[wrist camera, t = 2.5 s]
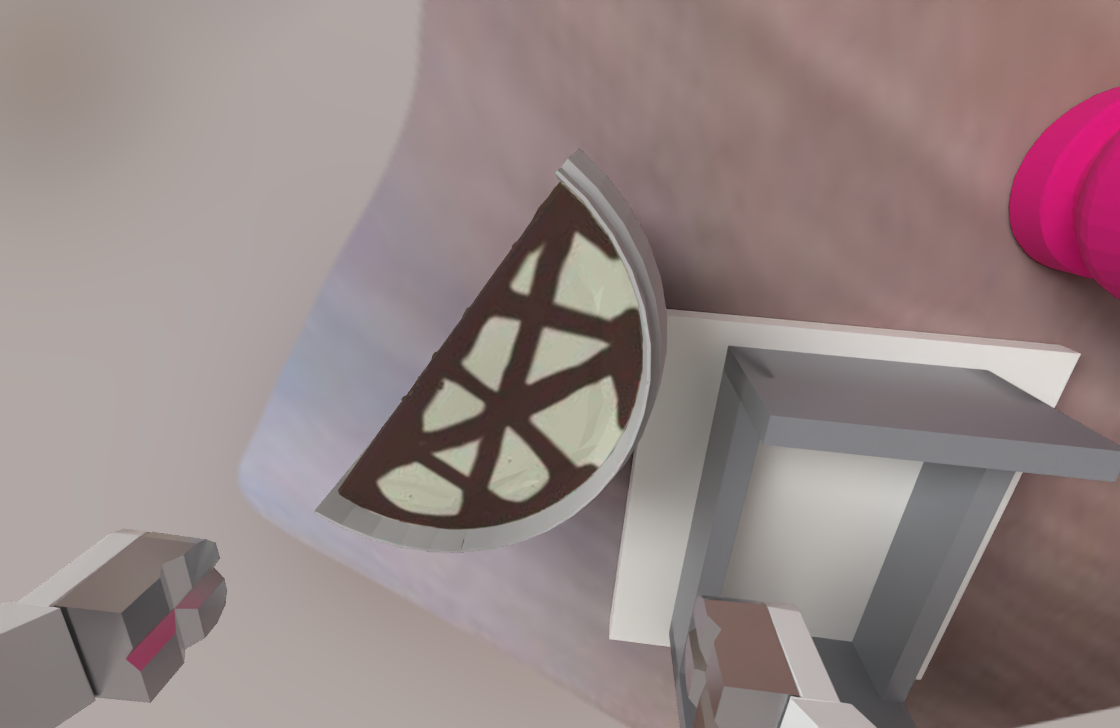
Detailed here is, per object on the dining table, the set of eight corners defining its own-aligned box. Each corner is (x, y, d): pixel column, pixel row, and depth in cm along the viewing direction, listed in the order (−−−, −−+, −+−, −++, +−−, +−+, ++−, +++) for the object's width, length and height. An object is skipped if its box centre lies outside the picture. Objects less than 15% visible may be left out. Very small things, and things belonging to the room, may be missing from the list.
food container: (531, 455, 25) (482, 634, 15) (424, 380, 24) (304, 524, 14) (713, 252, 20) (796, 333, 11) (591, 150, 19) (573, 146, 10)
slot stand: (1059, 344, 20) (1266, 432, 14) (910, 662, 27) (1002, 819, 21) (654, 307, 21) (672, 374, 15) (609, 623, 28) (608, 762, 22)
